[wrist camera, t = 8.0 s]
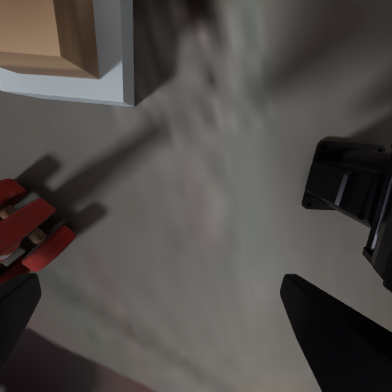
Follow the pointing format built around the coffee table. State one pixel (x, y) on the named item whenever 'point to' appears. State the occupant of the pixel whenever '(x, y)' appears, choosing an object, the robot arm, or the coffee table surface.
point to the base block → (107, 62)
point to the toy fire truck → (27, 232)
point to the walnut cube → (49, 38)
